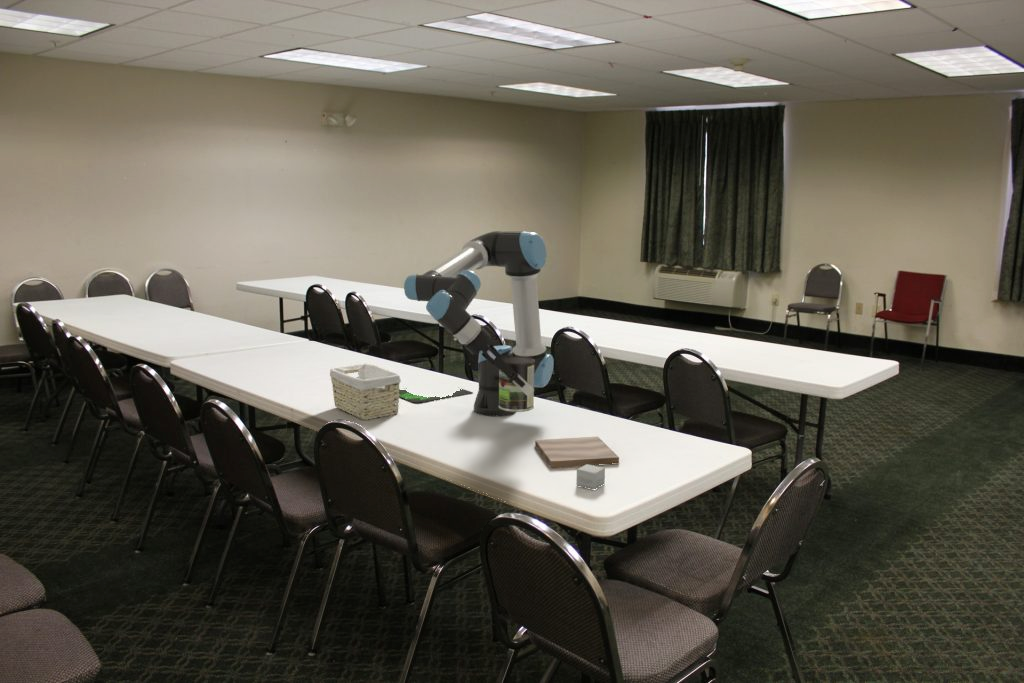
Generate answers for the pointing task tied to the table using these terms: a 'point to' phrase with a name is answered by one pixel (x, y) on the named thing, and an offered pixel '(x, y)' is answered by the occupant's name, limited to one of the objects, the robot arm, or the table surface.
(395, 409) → the storage basket
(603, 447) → the walnut board
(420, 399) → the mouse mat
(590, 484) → the small box
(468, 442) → the table surface
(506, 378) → the coffee can
